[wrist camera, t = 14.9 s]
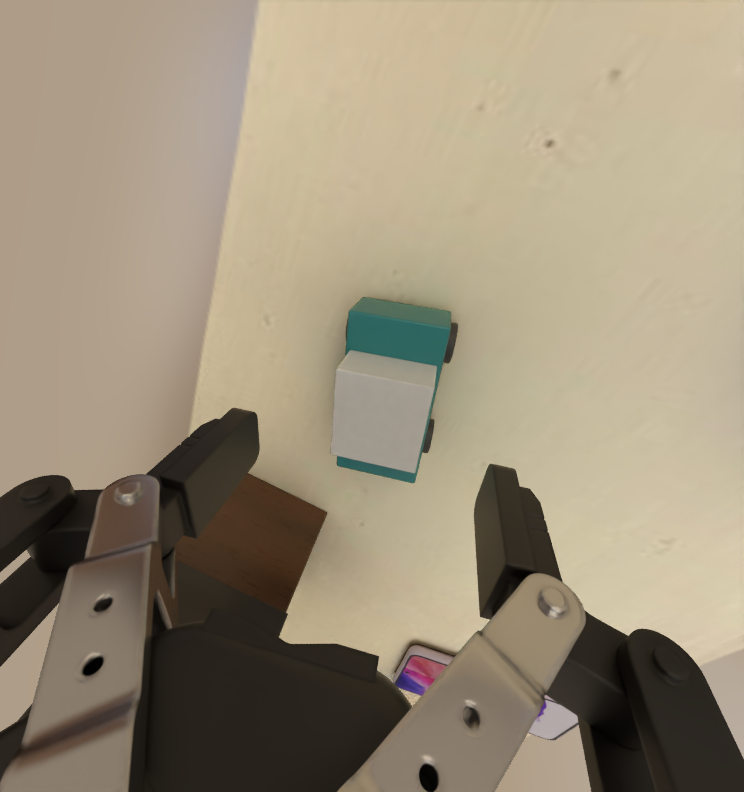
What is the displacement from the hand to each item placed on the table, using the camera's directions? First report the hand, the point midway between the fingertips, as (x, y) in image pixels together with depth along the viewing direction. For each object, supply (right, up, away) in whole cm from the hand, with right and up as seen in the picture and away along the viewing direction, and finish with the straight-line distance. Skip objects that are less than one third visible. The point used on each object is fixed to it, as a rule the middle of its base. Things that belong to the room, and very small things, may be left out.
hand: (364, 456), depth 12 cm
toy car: (+2, +3, +6) cm, 7 cm away
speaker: (-8, -8, +15) cm, 19 cm away
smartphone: (+10, -23, +19) cm, 31 cm away
